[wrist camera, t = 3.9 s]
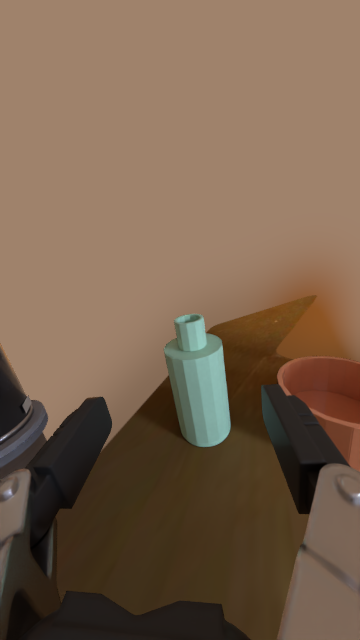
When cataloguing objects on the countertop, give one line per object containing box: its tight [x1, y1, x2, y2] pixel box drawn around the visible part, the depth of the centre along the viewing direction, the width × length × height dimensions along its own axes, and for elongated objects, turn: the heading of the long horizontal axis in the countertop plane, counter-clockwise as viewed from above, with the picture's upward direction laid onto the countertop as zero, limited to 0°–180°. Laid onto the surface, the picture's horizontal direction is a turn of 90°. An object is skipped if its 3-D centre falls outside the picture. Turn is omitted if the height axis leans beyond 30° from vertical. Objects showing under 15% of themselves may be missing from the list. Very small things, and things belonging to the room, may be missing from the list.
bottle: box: [164, 314, 231, 447], centre depth 22 cm, size 6×6×14 cm
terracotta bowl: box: [277, 356, 360, 472], centre depth 20 cm, size 11×11×6 cm
